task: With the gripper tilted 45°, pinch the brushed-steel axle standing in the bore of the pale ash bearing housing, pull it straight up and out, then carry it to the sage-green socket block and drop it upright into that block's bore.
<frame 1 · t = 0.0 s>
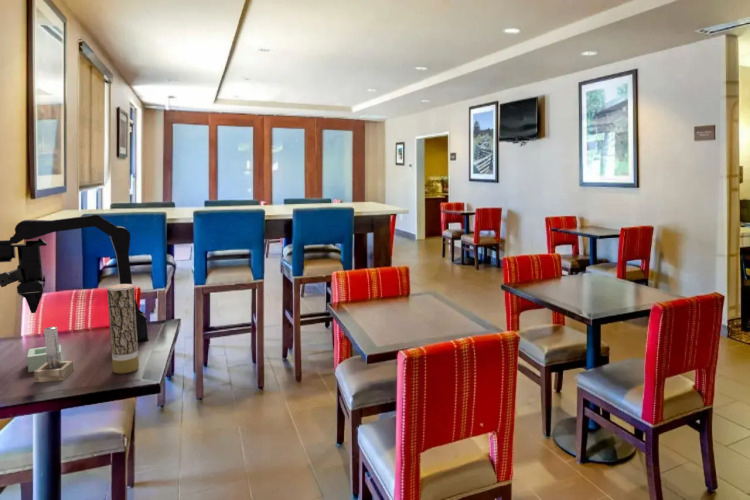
hand: (34, 309, 149), 15 cm above the table, tool pointing down, fingers open, 9 cm apart
wooden log: (126, 370, 139), on the table
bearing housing: (54, 376, 134), on the table
socket block: (45, 365, 142), on the table
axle: (52, 352, 133), in the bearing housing
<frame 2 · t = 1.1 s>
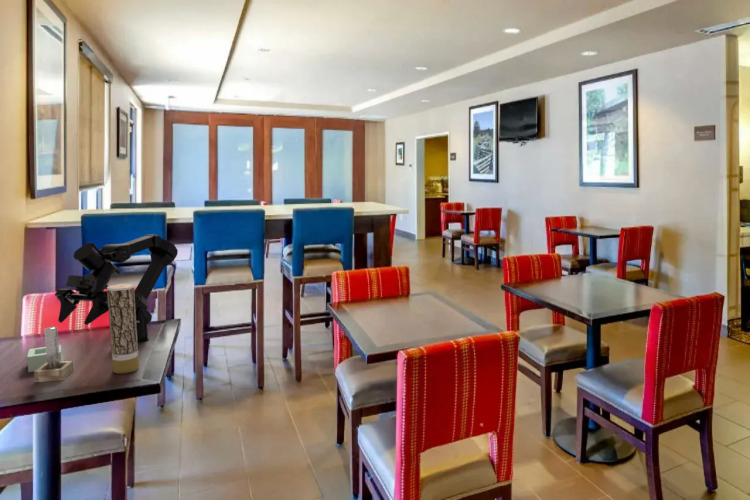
hand: (72, 323, 140), 13 cm above the table, tool tilted 45°, fingers open, 9 cm apart
nothing on the table moved.
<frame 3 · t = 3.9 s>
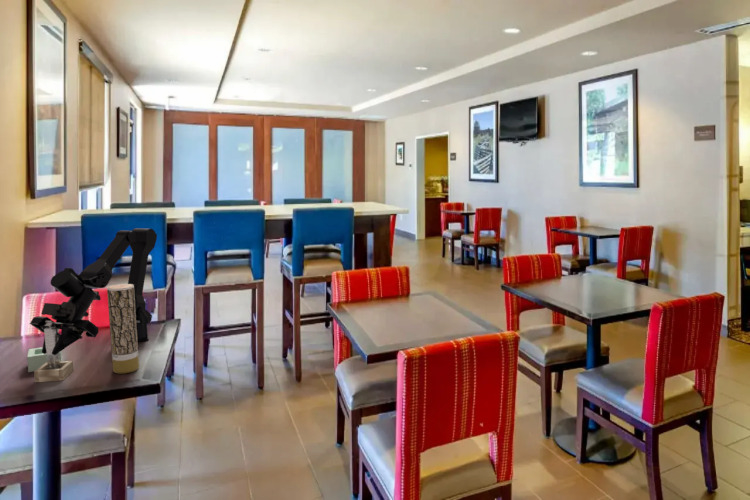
hand: (48, 353, 132), 7 cm above the table, tool tilted 45°, fingers closed on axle, 3 cm apart
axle: (52, 352, 133), in the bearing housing, touching gripper
everything else where it was.
when the fingers open (9 cm above the table, at t = 7.7 s): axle drops 1 cm, resting on socket block.
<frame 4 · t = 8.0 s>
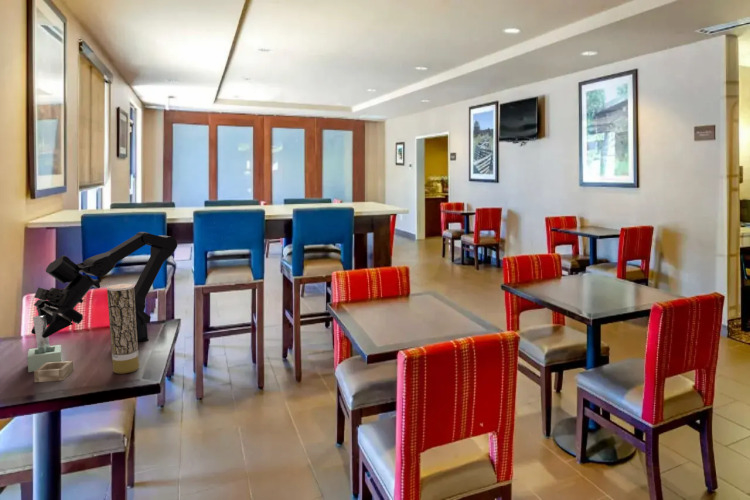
hand: (37, 335, 140), 10 cm above the table, tool tilted 45°, fingers open, 6 cm apart
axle: (42, 339, 141), in the socket block, point 8 cm above the table
everything else where it was.
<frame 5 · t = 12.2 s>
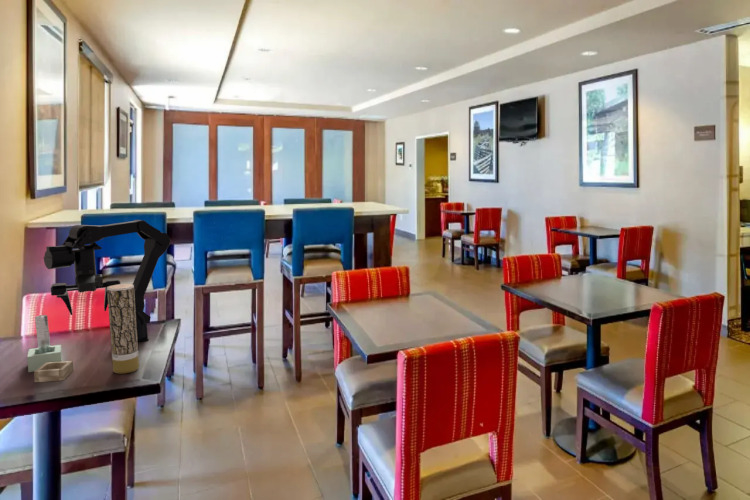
hand: (88, 312, 152), 13 cm above the table, tool pointing down, fingers open, 9 cm apart
nothing on the table moved.
at the end: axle 0.0 cm off-centre on the socket block, point 8.0 cm above the socket block's base; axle tilted 1°; the gripper is holding nothing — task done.
